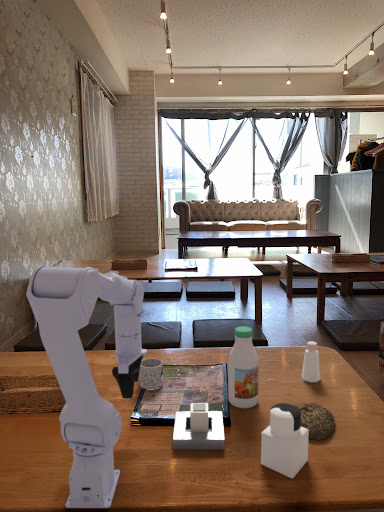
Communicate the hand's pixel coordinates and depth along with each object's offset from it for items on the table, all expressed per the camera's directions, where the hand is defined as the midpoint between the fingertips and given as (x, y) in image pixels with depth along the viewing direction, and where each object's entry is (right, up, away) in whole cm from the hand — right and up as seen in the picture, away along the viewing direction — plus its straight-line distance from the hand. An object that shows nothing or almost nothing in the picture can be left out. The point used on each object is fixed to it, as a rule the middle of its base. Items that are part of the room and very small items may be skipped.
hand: (130, 389), depth 93 cm
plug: (+16, -10, 0) cm, 19 cm away
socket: (+16, -10, 0) cm, 19 cm away
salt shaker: (+49, -6, +26) cm, 56 cm away
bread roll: (+42, -10, +4) cm, 43 cm away
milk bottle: (+27, -8, +14) cm, 32 cm away
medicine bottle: (+33, -12, -10) cm, 36 cm away
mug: (+2, -7, +25) cm, 26 cm away
